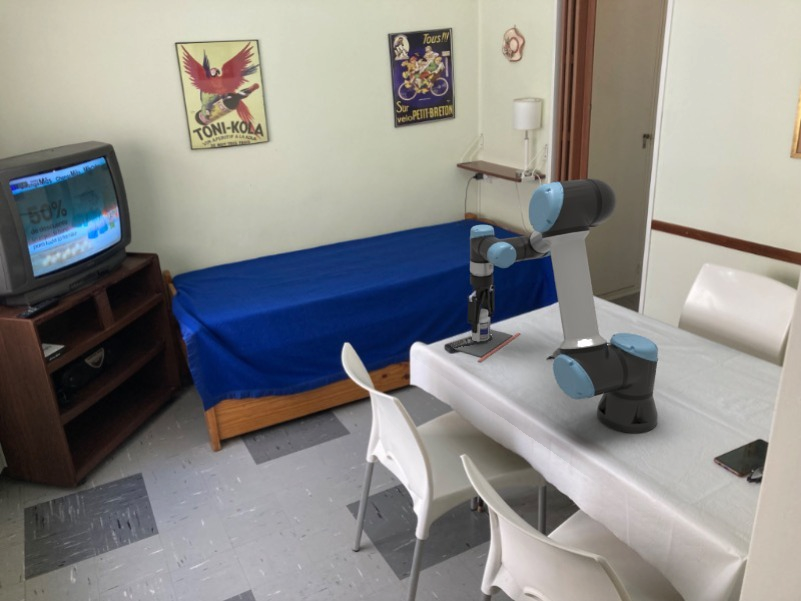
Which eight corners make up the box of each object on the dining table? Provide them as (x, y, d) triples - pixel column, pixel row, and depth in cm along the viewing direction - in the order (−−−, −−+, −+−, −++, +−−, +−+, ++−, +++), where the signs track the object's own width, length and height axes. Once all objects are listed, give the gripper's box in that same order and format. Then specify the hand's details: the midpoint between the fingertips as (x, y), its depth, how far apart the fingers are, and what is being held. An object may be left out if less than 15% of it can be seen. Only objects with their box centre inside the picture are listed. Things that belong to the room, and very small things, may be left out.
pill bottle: (476, 333, 222) (477, 306, 218) (492, 336, 219) (492, 309, 215) (469, 339, 217) (469, 312, 214) (485, 343, 214) (485, 315, 211)
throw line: (480, 362, 205) (480, 361, 205) (477, 361, 205) (477, 360, 205) (520, 334, 223) (520, 333, 223) (518, 333, 224) (518, 332, 224)
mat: (481, 357, 208) (481, 356, 208) (453, 349, 214) (453, 348, 214) (512, 336, 222) (512, 335, 222) (485, 329, 229) (485, 327, 228)
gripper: (475, 283, 201) (475, 350, 209) (506, 266, 214) (504, 330, 223) (455, 278, 205) (456, 344, 214) (487, 263, 219) (486, 325, 227)
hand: (480, 337), depth 218 cm, fingers closed on pill bottle, 6 cm apart
